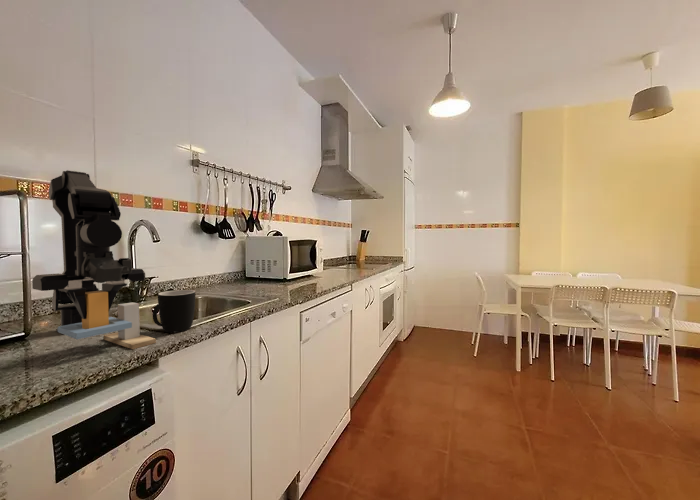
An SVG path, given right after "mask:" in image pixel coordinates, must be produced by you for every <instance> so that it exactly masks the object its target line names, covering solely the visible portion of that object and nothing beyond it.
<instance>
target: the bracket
mask: <svg viewBox="0 0 700 500" xmlns="http://www.w3.org/2000/svg"><path fill="white" fill-rule="evenodd" d="M57 328H58V331H57V333H59V334H62V335H64V336H67V337H69V338H73V339H74V340H81V339H85V338H89V337H94V336H99V335H105V334H110V333H115V332H118V338H121V339H124V340H127V339H131V338H135V337H139V336H140V331H141V329H140V303H138V302H127V303H119V304H117V318H116V317H113V316H109V325H105V326H100V327H95V328H90V329H83V328H82V322H81V323H75V324H70V325H64V326H61V325H59V326H57Z"/></svg>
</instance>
